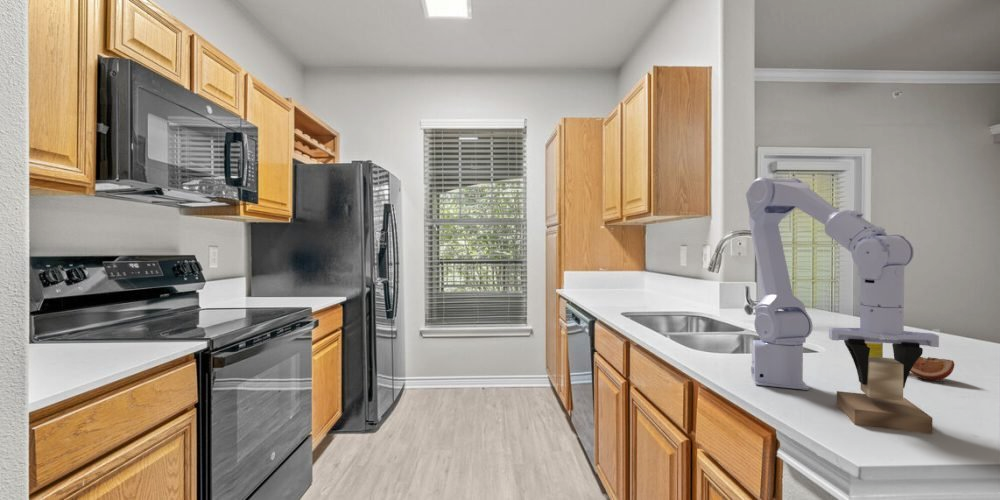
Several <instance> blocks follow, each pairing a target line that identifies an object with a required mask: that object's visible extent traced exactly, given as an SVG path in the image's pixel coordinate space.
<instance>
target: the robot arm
mask: <svg viewBox="0 0 1000 500" xmlns="http://www.w3.org/2000/svg"><path fill="white" fill-rule="evenodd" d="M745 197H746V202H747V207H748V212H749V215H748V223H749V224H748V225H749V229H750V233H751V238H752V243H753V249H754V254H755V260H756V264H757V266H756V267H757V269H758V270H757V271H758V274H759V280H760V285H761V291H762V296H763V297H762V299H761V300H760V301H759V302H758V303H757V304H756V305H755V306H754V312H755V313H754V314H755V317H754V318H755V319H754V324H753V325H754V330H755V332H756V334H757V336H758V337H759V338H760V340H758V339H753V340H752V343H751V366H750V373H751V377H752V379H753V382H754V384H755V385H756V386H764V387H765V386H766V387H774V388H776V387H777V388H786V389H795V390H805V391H807V390H809V387H808V385H807V384H806V382H805V381H804V380H803V379H804V376H803V374H804V373H803V372H804V363H803V362H804V343H806V339H807V338H809V337H810V335H812V332H813V327H814V325H813V320H812V318H811V317H810V315H809V314H808V312H807V310H806V307H805V303H804V302H802V300H800V299H799V298H797V297H796V296H795V294H793V289H792V284H791V280H790V275H789V271H788V265H787V261H786V256H785V255H786V254H785V251H784V247H783V241H782V237H781V232H780V228H779V227H780V226H779V224H780V223H781V221H783V219H785V218H786V217H788V216H789V215H790V214H791V213H792V212H793V211H794V210H795V209H796V208H797V209H799V210H800V211H802V212H803V213H805V214H807V216H810V217H811V218H813V219H815V220H816V221H818V222H819V223H821V224H822V225H824V233H825V234H826V236H828V237H829V238H831V239H832V240H833V241H835V242H836V243H837V244H839V245H840V246H842V247H843V248H845V249H846V250H848V251H849V252H850V253H851V258H852V261H853V262H854V264H855V265H856V266H857V269H858V270H857V271H858V273H857V275H859V278H860V300H859V301H860V304H859V305H860V306H859V309H860V310H859V311H860V314H859V315H860V316H859V317H860V318H859V320H860V321H859V323H860V324H859V326H860V327H828V338H829V340H832V341H843V342H844V345H845V346H846V348H847V350H848V352H849V354H850V356H851V358H852V361H853V363H854V366H855V369H856V373H857V377H858V378H857V379H858V382H859V383H860V384H861V383H862V384H863V385H867V379H868V359H869V352H870V348H869V347H868V346H867V343H865V342H879V343H883V344H892V345H891V347H892V352H893V359H895V360H896V361H898V362H900V363H902V364H903V389H905V386H906V384H907V379H908V377H909V374H910V373H911V372H910V371H911V369H912V367H913V365H914V364H915V362H916V361H917V360H918V358H919V357H922V355H923V353H924V348H922V347H921V346H925V347H926V346H927V347H932V348H939V347H940V336H939V335H938V334H936V333H933V332H932V333H931V332H919V331H918V332H917V331H910V330H909V331H908V330H904V326H905V325H904V324H905V323H904V321H905V320H904V315H905V313H904V312H905V267H906V266H908V265H909V264H910V263H911V261H912V260H913V258H914V254H915V253H914V247H913V245H912V243H911V242H910V241H909V240H908V239H907V238H906V237H905V236H904V235H902V234H888V233H886V232H885V231H886V229H885V228H884V227H882V226H876V224H875V225H874V224H873V223H872V222H870V221H869V220H867V219H865V218H864V217H863V215H864V213H862V212H861V211H860V210H852V209H846V210H845V209H844V210H841V211H840V210H839V209H837V208H836V207H835V206H833V205H832V203H830V202H828V201H827V200H826V199H825V198H823V197H822V196H820V195H819V194H818V193H817V192H815V191H814V190H813V189H811V188H810V184H808V183H806V182H803V181H802V180H801V179H799V178H795V177H793V178H776V177H775V178H774V177H773V178H772V177H771V178H770V177H765V176H761V177H757V178H755V179H754V180H753V181H752V182H751V184H750V186H749V187H748V189H747V190H746V193H745ZM871 338H879V339H871Z"/></svg>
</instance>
